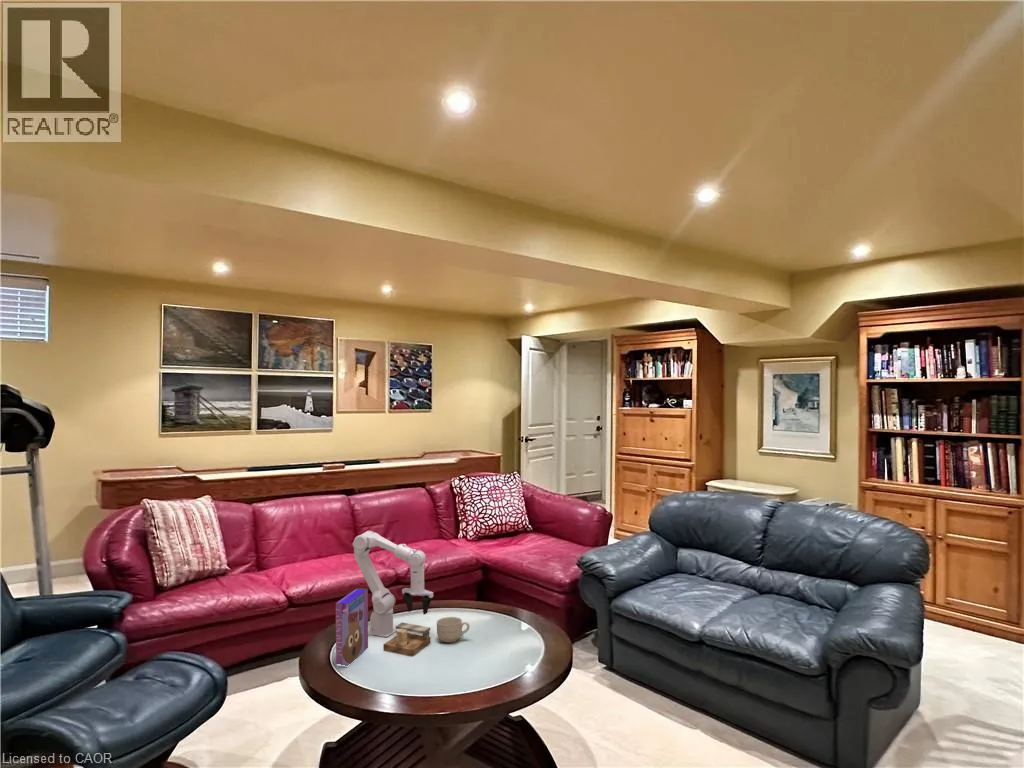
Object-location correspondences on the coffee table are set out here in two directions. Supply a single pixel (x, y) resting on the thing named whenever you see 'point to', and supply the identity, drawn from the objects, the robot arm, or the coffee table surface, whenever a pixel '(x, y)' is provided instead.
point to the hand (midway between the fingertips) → (417, 612)
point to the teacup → (450, 628)
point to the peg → (401, 637)
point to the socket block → (409, 640)
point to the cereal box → (351, 626)
